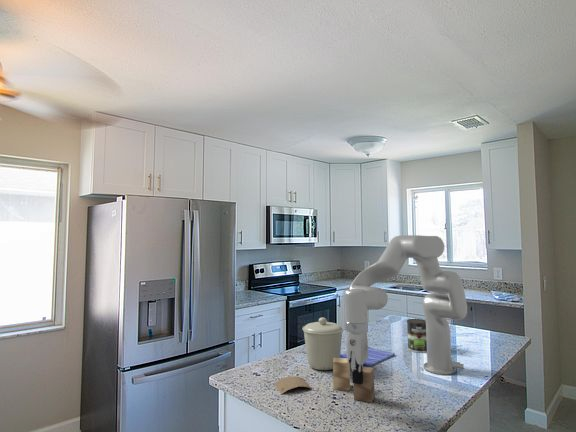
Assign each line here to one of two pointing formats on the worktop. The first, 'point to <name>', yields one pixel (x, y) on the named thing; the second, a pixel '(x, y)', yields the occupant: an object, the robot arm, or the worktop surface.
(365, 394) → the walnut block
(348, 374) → the oak block
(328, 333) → the canister
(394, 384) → the worktop surface
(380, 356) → the dish towel
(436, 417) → the worktop surface
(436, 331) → the robot arm
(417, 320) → the coffee can
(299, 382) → the clay tablet
